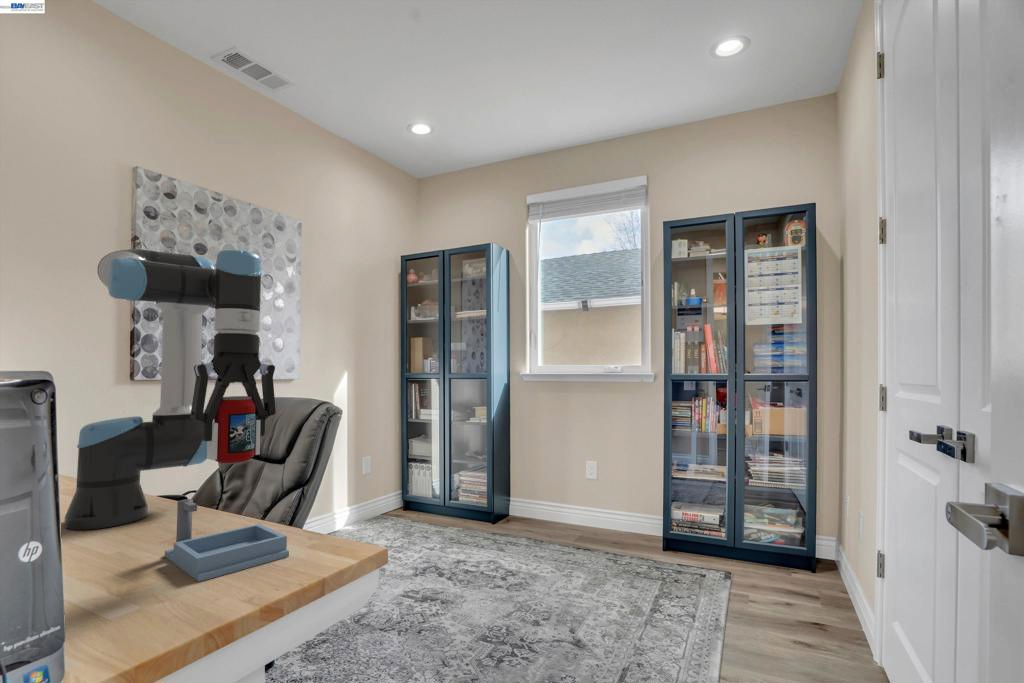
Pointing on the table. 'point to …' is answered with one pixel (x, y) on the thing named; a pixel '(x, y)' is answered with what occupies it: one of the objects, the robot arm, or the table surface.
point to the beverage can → (235, 429)
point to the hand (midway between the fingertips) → (233, 456)
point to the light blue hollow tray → (222, 547)
